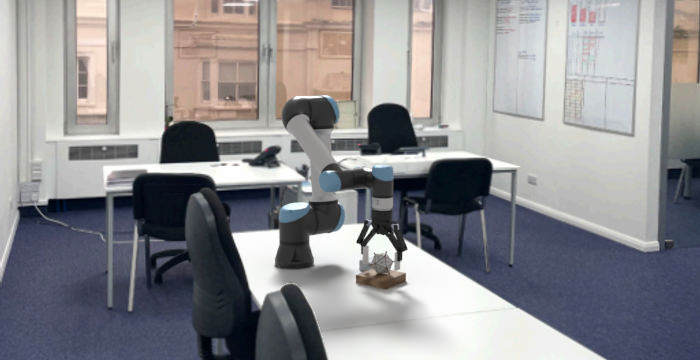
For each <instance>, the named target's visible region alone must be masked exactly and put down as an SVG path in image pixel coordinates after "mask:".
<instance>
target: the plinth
mask: <svg viewBox="0 0 700 360" xmlns="http://www.w3.org/2000/svg"><path fill="white" fill-rule="evenodd" d="M389 273H390V274H388V273H381V274H378V275H377V273H376V271H375V270H374V269H373V268H372V269H370V270H367V271H363V272H360V273H358V274H356V275H355V283H356V284H359V285H363V286H368V287H371V288H378V289H382V290H386V291H387V290H389V289H391V288H394V287H396V286H399V285H400V284H403V283H404V282H406V281H407V273H406V272H402V271H399V270H397V271H395V270H392V269H390V271H389Z"/></svg>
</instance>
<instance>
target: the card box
mask: <svg viewBox="0 0 700 360" xmlns="http://www.w3.org/2000/svg"><path fill="white" fill-rule="evenodd" d="M373 257H374V255H373V256H369V260H368V263H367V264H363V258H362V259H359V270H360V271H363V272H365V271H367V270H370V269H372V266H371V262H372V260H373ZM368 265H370V266H368Z"/></svg>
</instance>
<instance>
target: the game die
mask: <svg viewBox="0 0 700 360" xmlns="http://www.w3.org/2000/svg"><path fill="white" fill-rule="evenodd" d="M373 256H374V257H373V260H372V262H371V266H372V268H373V269H374V270H375V271H376V273H377V275H378V274H381V273H388V274H390V273H389V271H390V270H391V268H392V266H393V264H394V263H395V260H392V258H391V257H390V256H389V255H388V251H387V250H386V251H385V252H383V253H382V252H381V253H375V252H373ZM368 266H370V265H368Z"/></svg>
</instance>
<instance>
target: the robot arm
mask: <svg viewBox="0 0 700 360" xmlns="http://www.w3.org/2000/svg"><path fill="white" fill-rule="evenodd" d="M338 105H339V104H338V103H337V101H336V100H335V99H334V98H333V97H332V96H330V95H323V94H322V95H321V94H319V95H297V96H294V97H291V98H290V99H288V100H287V101H286V102H285V104H284V105H283V106H282V110H281V122H282V125H283V127H284V129H285V130H286V132H287V133H288V134H290V135H292V136H293V137H294V139H295V140H296V141H297V143H298V145H299V146H300V148H301V149H302V150H303V151H304V153H305V155H306V156H307V157H308V159H309V163H310V164H309V165H310V166H309V167H310V181H311V197H310V198H308V202H303V201H302V202H300V201H299V202H291V203H288V204H285V205H283V206H281V208H280V210H279V213H278V215H279V216H278V222H279V223H278V224H279V225H278V227H279V231H278V234H279V237H278V239H279V244H278V248H277V250H276V251H277V252H276V255H275V258H274V265H275V266H276V267H278V268H281V269H287V270H288V269H290V270H298V269H299V270H300V269H305V268H306V269H307V268H311V267H312V266H314V264H315V257H314V255H313V253H312V248H311V244H310V239H311V238H310V236H316V235H317V236H318V235H321V234H322V235H323V234H331V233H333V232H338V231H339V230H340V229H342V227H343V226H344V223H345V221H346V212H345V208H344V205H343V204H342V203H340V202H339V198H338V197H337V196H336V195H335V193H338V192H343V191H345V192H346V191H352V190H353V191H354V190H360V189H363V190H364V189H366V190H371V216H370V217H371V219H370V218H368V219H365V220H364V221H363V226H362V229H361V230H360V233H359V235H358V236H357V237H358V238H357V240H356V244H358V245H360V254H361V255H362V259H363V264H367V263H368V260H369V257H370V255H369V251H370V248H369V247H370V245H368V244H369V242H370V241H371V240H372V239H373V237H375V235H376V234H377V235H381V236H385V237H386V238H387V239H388V240H389V242H390V243H391V245H392V247H393V248H394V250H395V252H394V261H395V262H394V268H393V269H394V270H393V271H399V270H401V262H402V261H403V254H404V253H403V252H407V251H408V250H409V249H408V246H407V243H406V241H405V238H404V236H403V233H402V229H401V224H400V223H396V224H395V223H393V219H394V218H393V217H394V216H393V215H394V214H393V212H394V210H393V208H394V178H395V177H394V167H393V166H392V165H390V164H374V165H373V166H372V168H371V167H367V166H363V165H362V166H361V165H357V166H355V167H353V168H346V169H345V168H344V169H343V168H342V167H341V166H340V165H339V163H338V162H337V161H336V159H335V158H334V156H333V155H332V141H331V140H332V137H331V134H332V132H333V131H334V130H335V125H336V124H338V123H339V119H340V109H339V106H338ZM370 227H372V229H371V230H370V231H369V229H370ZM368 231H369V233H368ZM367 233H368V234H367Z"/></svg>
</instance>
